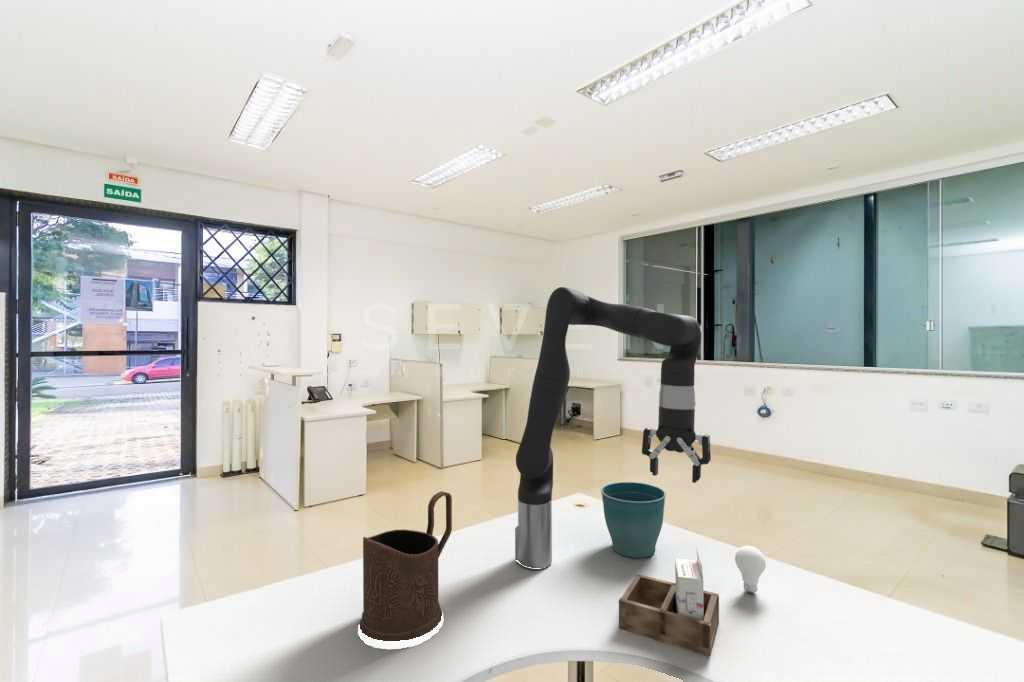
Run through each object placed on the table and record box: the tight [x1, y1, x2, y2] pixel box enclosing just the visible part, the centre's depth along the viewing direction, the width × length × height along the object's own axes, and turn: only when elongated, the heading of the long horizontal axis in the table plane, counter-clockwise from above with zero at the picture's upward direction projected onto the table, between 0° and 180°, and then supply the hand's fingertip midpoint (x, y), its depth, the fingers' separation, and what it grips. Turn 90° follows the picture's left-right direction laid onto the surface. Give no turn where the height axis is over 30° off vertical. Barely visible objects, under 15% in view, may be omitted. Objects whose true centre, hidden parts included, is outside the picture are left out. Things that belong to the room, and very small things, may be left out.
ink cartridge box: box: [674, 547, 704, 621], centre depth 99 cm, size 9×5×15 cm, turn 166°
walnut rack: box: [618, 573, 720, 658], centre depth 101 cm, size 18×13×6 cm
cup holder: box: [359, 490, 453, 641], centre depth 105 cm, size 18×24×25 cm
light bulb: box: [734, 545, 767, 594], centre depth 114 cm, size 7×7×11 cm
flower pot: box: [600, 481, 667, 559], centre depth 138 cm, size 18×18×17 cm
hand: (674, 478), depth 105 cm, fingers open, 8 cm apart
